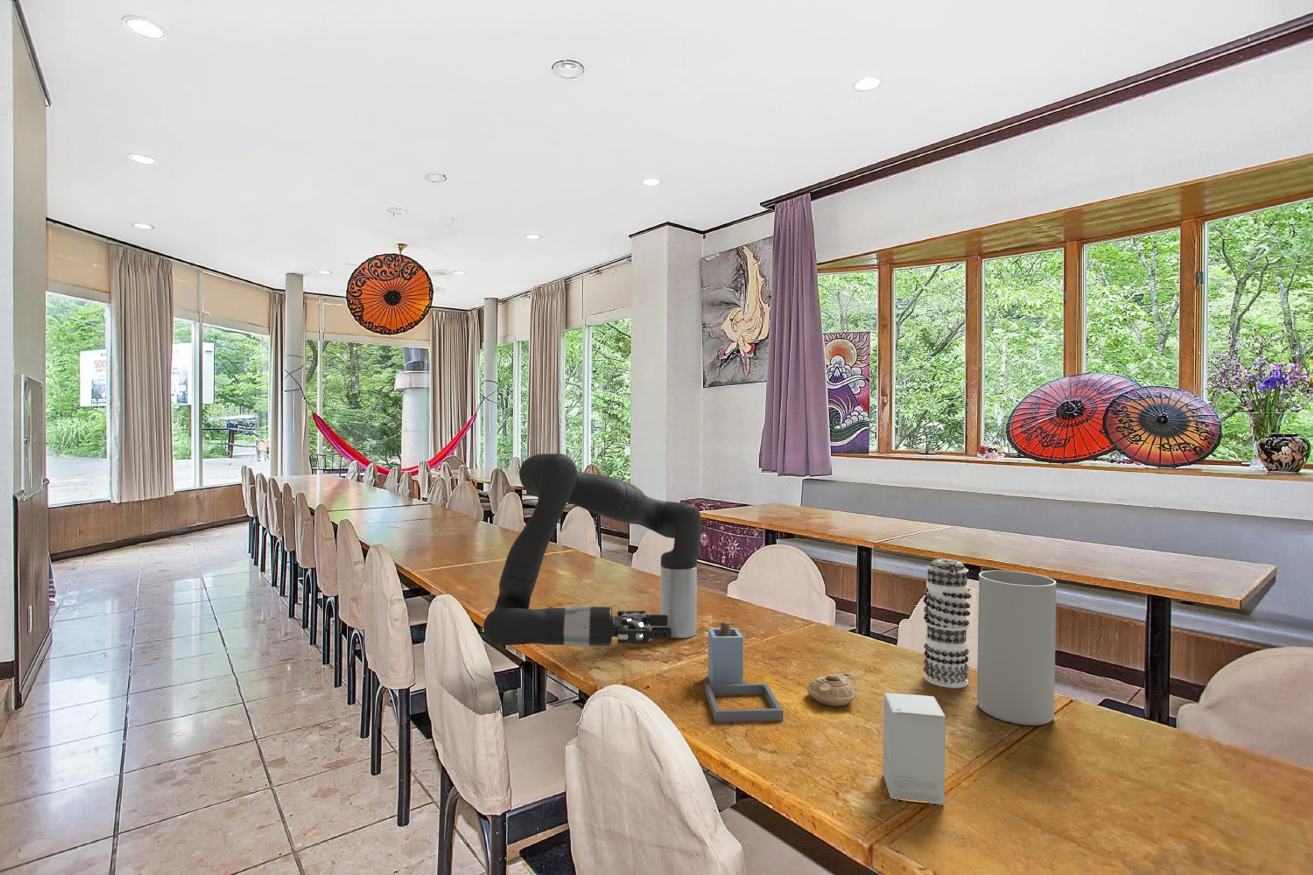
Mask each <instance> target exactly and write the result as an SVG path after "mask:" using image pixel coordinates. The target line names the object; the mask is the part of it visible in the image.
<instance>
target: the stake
mask: <svg viewBox="0 0 1313 875" xmlns="http://www.w3.org/2000/svg"><path fill="white" fill-rule="evenodd" d="M719 628H720V636H730V628H731V622H730V621H721V622H720V627H719ZM743 684H748V681H747V680H746V679H745V678H743ZM702 685H704V686H705V687H706V685H711V683H710V680H709V678H708V675H707V676H705V677H704V678H703V679H702Z"/></svg>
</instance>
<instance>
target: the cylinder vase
mask: <svg viewBox="0 0 1313 875" xmlns="http://www.w3.org/2000/svg"><path fill="white" fill-rule="evenodd" d="M977 606H978V612H977V615H978V616H977V621H978V623H977V676H976V677H977V678H976V680H977V682H976V687H977V688H976V690H977V691H976V701H977V702H976V703H977V706H978V707H979V709H980V710H982V711H983V712H984V713H986V714H987V715H989V716H990V717H992V718H994V719H998V720H1000V721H1003V722H1005V723H1009V722H1010V724H1015V725H1019V724H1020V725H1021V726H1029V725H1030V726H1043V725H1047V724H1049V723H1050V722H1052V720H1053V719H1054V717H1055V684H1056V683H1055V681H1056V680H1055V679H1056V675H1055V674H1056V673H1055V672H1056V622H1057V621H1056V615H1057V614H1056V613H1057V609H1056V608H1057V581H1056V580H1055V579H1053V578H1050V577H1048V576H1045V575H1041V574H1035V573H1030V572H1023V571H1013V570H985V571H981V572H979V573H978V605H977ZM1030 726H1029V727H1030Z"/></svg>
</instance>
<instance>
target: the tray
mask: <svg viewBox="0 0 1313 875" xmlns="http://www.w3.org/2000/svg"><path fill="white" fill-rule="evenodd" d="M704 693H705V697H706V699H707V702H708V705H709V708H710V710H711V714H712V717H713V719H714V722H715V723H741V722H742V723H743V722H745V723H746V722H781V721H782V722H784V709H783V707H782V706H781V704H780V703H779V701H778V699H777V697H776V695H775V694H774V693H773V691H772V690H771V687H770V686H769V685H768V683H747V684H713V685H706V686H705V692H704ZM759 695H761V696H764V697H765V700H766V701H767V704H768V705H769V706H770V708H743V709H742V708H741V709H740V708H738V709H736V708H735V709H733V708H732V709H720V708H719V705H718V702H717V700H716V698H715V696H719V697H720V696H723V697H725V696H759Z"/></svg>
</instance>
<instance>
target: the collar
mask: <svg viewBox="0 0 1313 875" xmlns="http://www.w3.org/2000/svg"><path fill="white" fill-rule="evenodd" d="M707 635H708V638H707V639H708V642H707V643H708V645H707V650H708V654H707V658H708V659H707V676H708V678H709V680H710V683H711V685H713V684H743V677H744V676H743V675H744V674H743V673H744V636H743V635H742V633H741V632H740V630H739V628H737V627H730V636H720V627H718V628H715V627H714V628H712V627H710V628H708V634H707Z"/></svg>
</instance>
